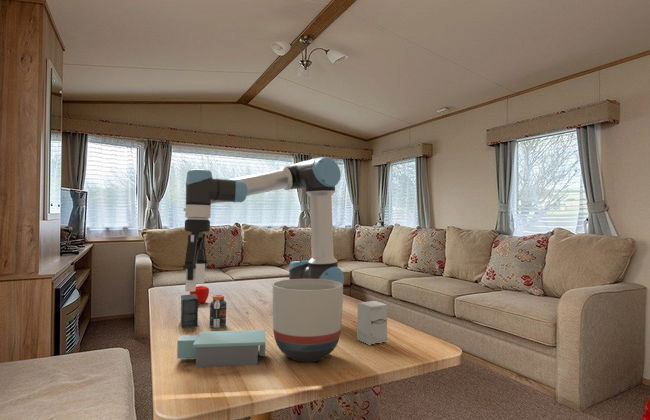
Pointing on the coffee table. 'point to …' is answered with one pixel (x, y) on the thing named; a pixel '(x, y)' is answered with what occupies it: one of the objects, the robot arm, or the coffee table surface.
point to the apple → (201, 293)
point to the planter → (307, 317)
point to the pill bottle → (218, 311)
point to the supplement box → (372, 322)
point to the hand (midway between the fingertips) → (195, 287)
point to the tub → (226, 356)
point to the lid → (219, 341)
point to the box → (189, 310)
